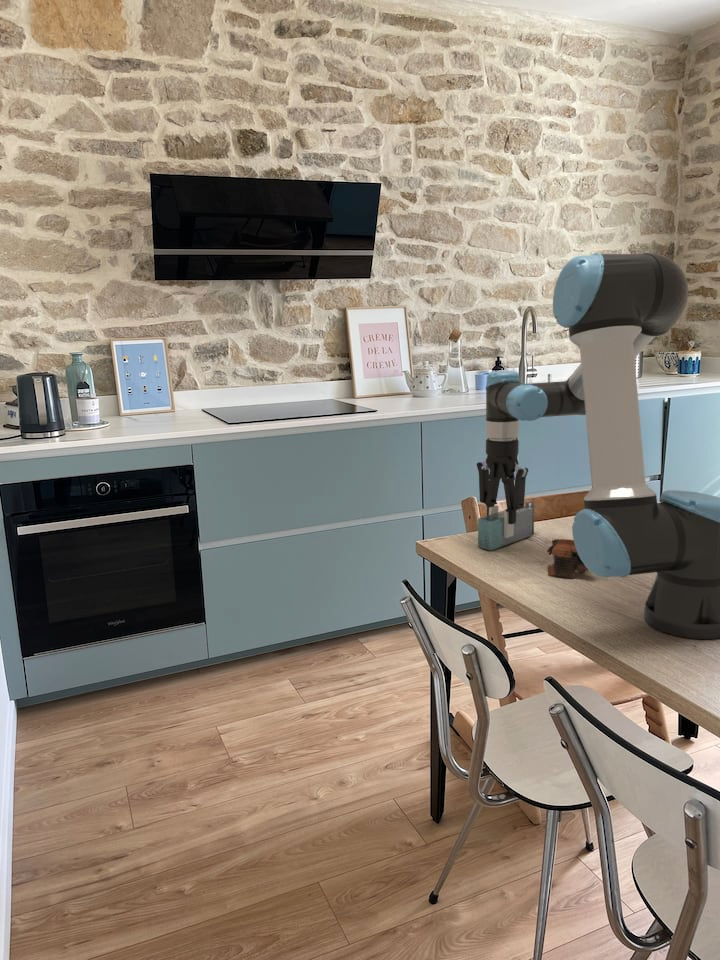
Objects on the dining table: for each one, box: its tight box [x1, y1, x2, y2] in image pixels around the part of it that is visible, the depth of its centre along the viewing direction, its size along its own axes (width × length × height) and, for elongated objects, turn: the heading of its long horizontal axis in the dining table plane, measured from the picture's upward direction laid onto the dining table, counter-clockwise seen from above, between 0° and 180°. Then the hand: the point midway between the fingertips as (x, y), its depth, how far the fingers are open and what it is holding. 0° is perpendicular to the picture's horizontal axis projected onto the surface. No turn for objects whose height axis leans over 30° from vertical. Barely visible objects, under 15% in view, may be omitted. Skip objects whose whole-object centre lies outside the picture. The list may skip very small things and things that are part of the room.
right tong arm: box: [483, 506, 533, 551], centre depth 178 cm, size 16×2×7 cm, turn 131°
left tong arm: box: [477, 506, 525, 550], centre depth 180 cm, size 16×2×7 cm, turn 132°
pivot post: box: [524, 501, 535, 536], centre depth 185 cm, size 2×2×8 cm
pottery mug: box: [546, 538, 589, 580], centre depth 158 cm, size 12×10×8 cm
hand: (501, 534), depth 178 cm, fingers open, 4 cm apart
